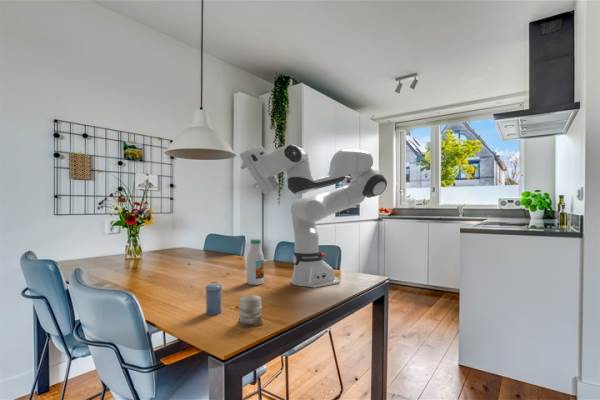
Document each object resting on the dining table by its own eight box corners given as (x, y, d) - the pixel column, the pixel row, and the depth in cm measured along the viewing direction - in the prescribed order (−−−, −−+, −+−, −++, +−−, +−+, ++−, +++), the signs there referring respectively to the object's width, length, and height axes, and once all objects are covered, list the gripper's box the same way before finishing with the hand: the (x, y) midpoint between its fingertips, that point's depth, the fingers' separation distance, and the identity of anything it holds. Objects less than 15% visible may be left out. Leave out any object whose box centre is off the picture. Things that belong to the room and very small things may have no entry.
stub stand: (258, 317, 98) (258, 294, 98) (264, 325, 92) (264, 300, 92) (237, 320, 95) (237, 296, 95) (241, 328, 89) (241, 303, 89)
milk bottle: (249, 286, 135) (249, 240, 135) (245, 281, 142) (245, 238, 142) (266, 284, 138) (266, 239, 138) (261, 280, 145) (261, 238, 145)
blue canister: (220, 309, 105) (220, 283, 105) (222, 314, 100) (222, 287, 101) (204, 311, 103) (205, 284, 103) (206, 316, 98) (206, 288, 99)
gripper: (285, 185, 127) (265, 193, 137) (259, 142, 123) (239, 154, 132) (276, 192, 123) (256, 200, 132) (249, 148, 118) (230, 159, 128)
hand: (248, 177), depth 132 cm, fingers open, 8 cm apart
